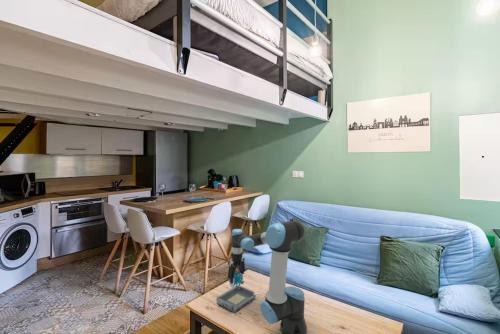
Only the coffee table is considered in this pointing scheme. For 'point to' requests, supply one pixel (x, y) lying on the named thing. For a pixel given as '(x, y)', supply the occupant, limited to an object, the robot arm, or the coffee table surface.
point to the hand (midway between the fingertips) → (236, 285)
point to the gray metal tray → (236, 298)
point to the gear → (237, 279)
